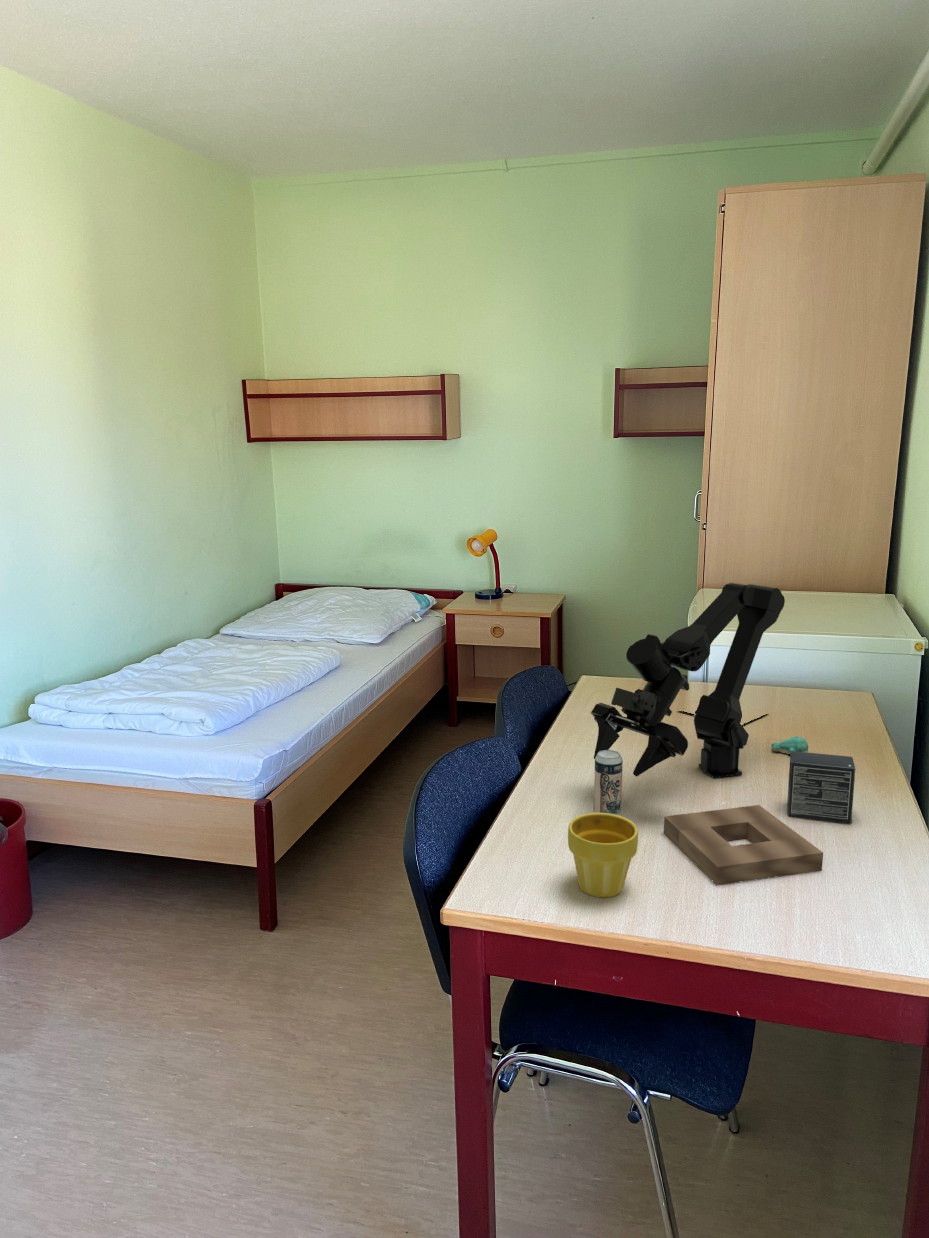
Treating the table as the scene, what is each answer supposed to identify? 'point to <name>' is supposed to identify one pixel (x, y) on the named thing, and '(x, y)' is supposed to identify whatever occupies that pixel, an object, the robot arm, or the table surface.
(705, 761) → the robot arm
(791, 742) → the whale figurine
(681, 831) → the holder block
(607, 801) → the beer can
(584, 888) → the plant pot
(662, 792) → the table surface
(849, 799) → the small box
